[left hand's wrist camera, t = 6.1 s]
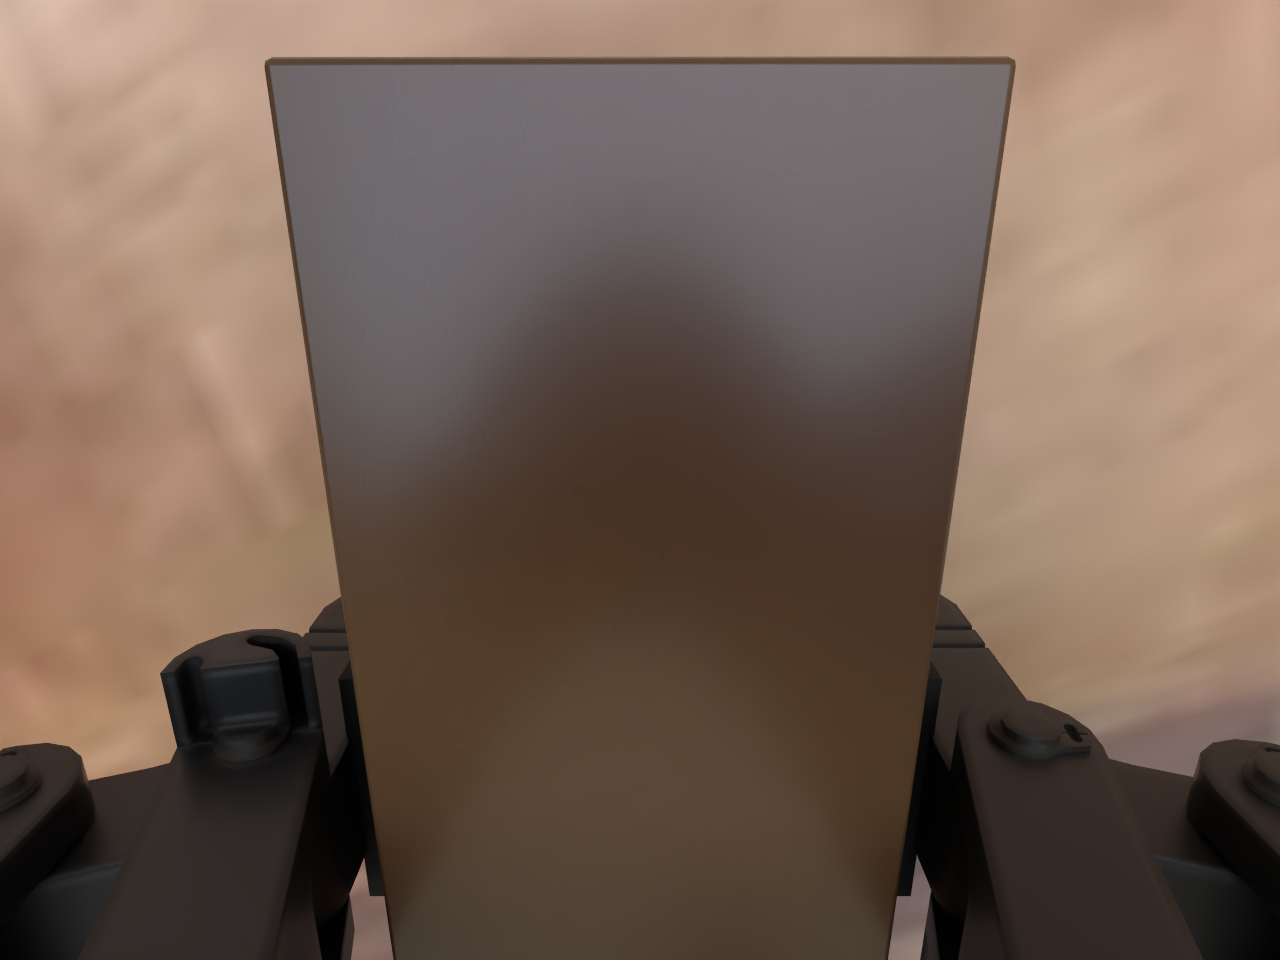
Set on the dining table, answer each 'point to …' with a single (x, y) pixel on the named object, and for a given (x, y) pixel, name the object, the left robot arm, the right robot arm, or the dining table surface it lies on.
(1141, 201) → the dining table surface
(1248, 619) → the dining table surface
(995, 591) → the dining table surface
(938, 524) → the bar
